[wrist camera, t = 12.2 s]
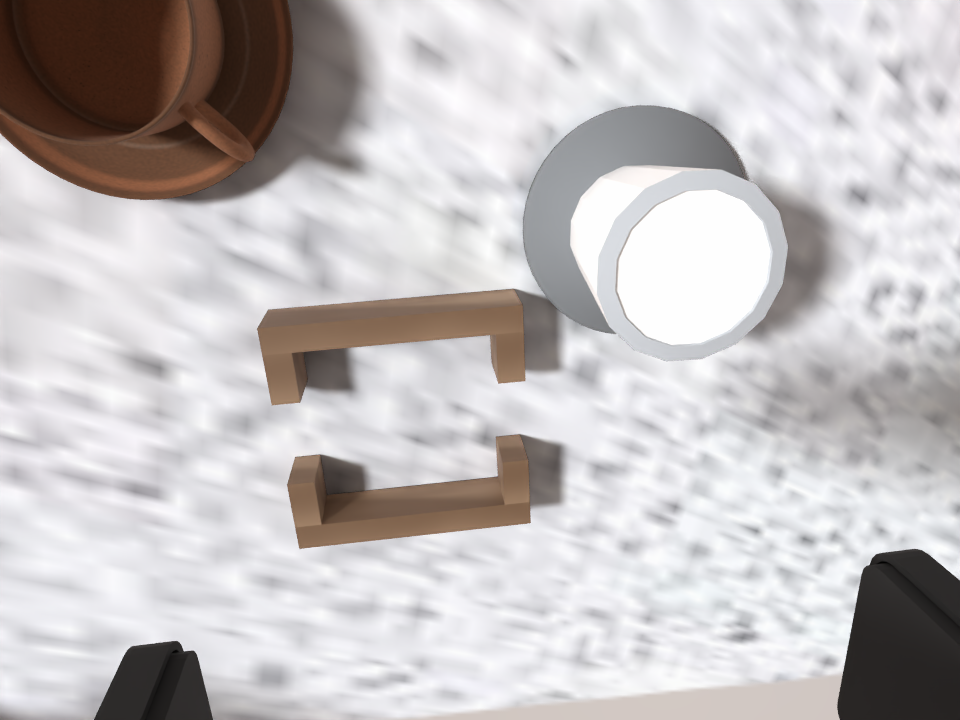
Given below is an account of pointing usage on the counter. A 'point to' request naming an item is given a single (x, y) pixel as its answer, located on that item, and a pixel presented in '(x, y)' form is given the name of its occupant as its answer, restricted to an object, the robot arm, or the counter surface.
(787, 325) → the counter surface
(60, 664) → the counter surface
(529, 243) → the coaster
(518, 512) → the pocket
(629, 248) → the white cylinder
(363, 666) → the counter surface
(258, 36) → the cup and saucer
